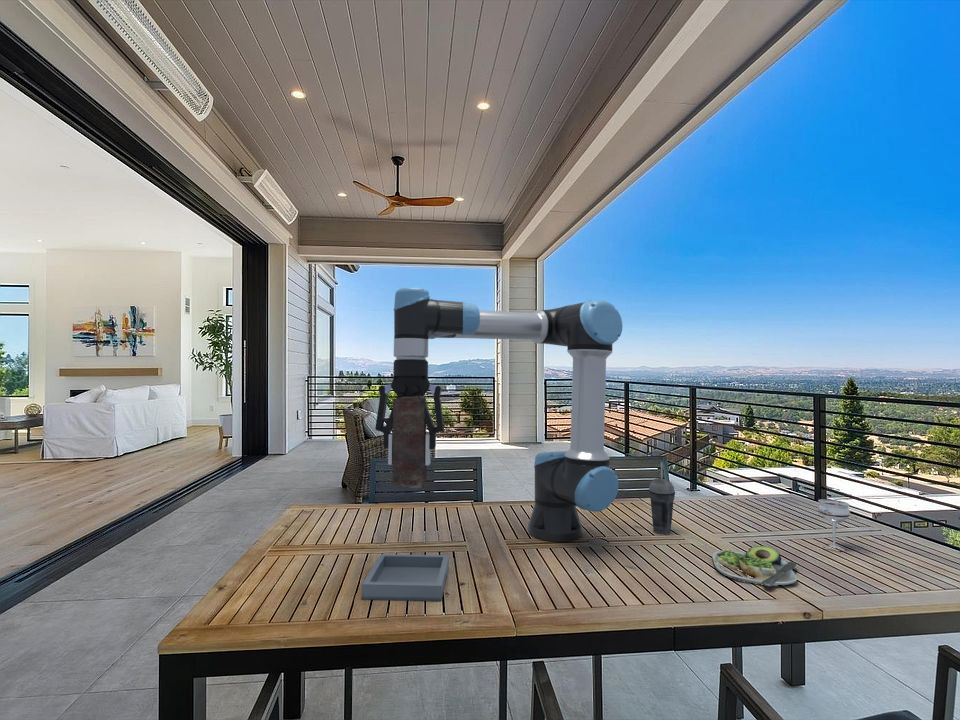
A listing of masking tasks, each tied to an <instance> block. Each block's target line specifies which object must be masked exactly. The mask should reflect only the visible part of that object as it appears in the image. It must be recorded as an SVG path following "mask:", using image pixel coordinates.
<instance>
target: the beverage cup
mask: <svg viewBox="0 0 960 720" xmlns="http://www.w3.org/2000/svg"><path fill="white" fill-rule="evenodd" d="M663 463H664V462H663V461H661V462H660V477H656V478H654V479H653V480H651V482H650V484H649V486H648V487H649V488H648V492H649V493H648V495H649V499H650V510H651V519H652V528H653V533H655V534H657V535H661V536H662V535H663V536H669V535H671V531H672V522H673V521H672V520H673V512H674V511H673V510H674V500H675V497H676V496H675V495H676V491H675V487H674V485H673V483H672V482H671V481H670V480H669V479H667V478H665V477H664V476H663V472H664V470H663V469H664V468H663V467H664V465H663Z"/></svg>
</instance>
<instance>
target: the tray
mask: <svg viewBox="0 0 960 720" xmlns="http://www.w3.org/2000/svg"><path fill="white" fill-rule="evenodd" d="M449 569H450V555H448V554H399V553H398V554H395V553H390V554H389V553H386V554H385V553H380V554H379V557H378V558H377V560H376V561H375V562H374V565H372V567H371V569H370V571H369V572H368V573H367V576H366V578H364V580H363V582H362V584H361V600H363V601H364V600H367V601H368V600H369V601H370V600H372V601H373V600H374V601H375V600H376V601H377V600H378V601H413V602H414V601H422V602H425V601H426V602H442V601H443V597H444V592H445V588H446V584H447V578H448V575H449ZM447 574H448V575H447Z"/></svg>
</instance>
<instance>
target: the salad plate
mask: <svg viewBox="0 0 960 720" xmlns="http://www.w3.org/2000/svg"><path fill="white" fill-rule="evenodd" d="M711 560H712V562H713V564H714V567H715V569H716V570H717V571H718V572H719V573H721V574H722V575H723V576H725V577H726V576H728V577H727V578H729V577H730V578H729V579H731V578H733V579H736V580H740V581H745V582H750V583H757V584H763V585H765V586H764V587H779V586H778V585H782V586H786V585H787V586H788V585H793V584H795V583H796V582H797V580H798V576H797V575H796V574H795V572H794V571H793V570H794V569H795V568H796V567H797V563H796V562H794V561H789V562H788V561H785V560H784V559H782V556H781V554H780V552H779V551H778V550H777V549H776V548H774V547H771V546H767V545H756V546H752V547H749V548H748V551H746V552H740V551H733V550H731V549H729V550H727V549H726V550H716V551H715V552H713V553H712V556H711ZM720 564H721V565H724V566H723V567H725V566H727V567H731V568H734V569H739V570H742V571H743V572H744V573H745V574H747V575H749V576H751V577H753V578H746V577H747V576H740V575H736V574H735V573H731V572H729V571H727V570H726V569H724V570H723V569H722V568H721V566H720ZM727 567H726V568H727ZM731 568H730V569H731ZM734 569H733V570H734ZM744 573H743V574H744ZM745 574H744V575H745ZM733 579H732V580H733ZM736 580H735V581H736ZM740 581H739V582H740ZM750 583H749V584H750ZM757 584H756V585H757Z"/></svg>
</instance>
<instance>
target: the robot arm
mask: <svg viewBox="0 0 960 720" xmlns="http://www.w3.org/2000/svg"><path fill="white" fill-rule="evenodd" d="M393 304H394V306H393V320H394V321H393V323H394V324H393V325H394V326H393V328H394V332H393V336H394V337H393V338H394V339H393V357H395V359H394V361H393V370H392V371H393V372H392V373H393V374H392V375H393V377H392V381H391V382H390V384H383V385H379V386H378V392H379V402H378V408H377V415H376V421H375V428H374V429H375V431H377V432H381V433H382V434H383V448H384V449H388V450H387V451H388V456H387V465H391V466H393V408H392V409H391V412H390V413H389V416H388V419H387V421H386V424H385V420H386V412H387V405H388V398H389V394H391V390H393V391H392V392H394V394H395V395H396V398H400V397H406V396H409V397H413V396H425V395H426V394H427V392H428V391H429V390H430V393H431V395H432V396H433V403H434V410H435V411H434V412H435V419H436V426H435V424H434V421H433V418H432V416H431V412H430V410H429V407H428V405H427V404H426V405H425V404H424V420H425V423H426V429H427V430H428V433H427V432H426V454H425V465H427V466H430V465H431V454H432V453H431V451H432V450H435V448H436V446H437V445H436V444H437V443H436V442H437V441H436V438H437V436H436V435H437V434H438V433H440V432H442V431H444V429H445V424H444V416H443V407H442V399H441V395H442V390H443V387H442V386H441V385H434V384H431V383H430V381H429V361H428V360H427V358H429V339H430V340H434V339H477V340H478V339H483V340H484V339H487V340H519V341H521V340H522V341H523V340H527V341H528V340H529V341H532V342H533V343H535V344H541V345H553V346H559V347H567V350H566V352H567V353H568V355H570V356H571V357H572V374H571V375H572V376H571V377H572V378H571V379H572V382H571V386H572V387H571V413H570V414H571V416H570V417H571V418H570V443H569V445H570V447H569V449H568V450H564V451H560V450H559V451H545V452H538V453H537V454H536V455H535V459H534V465H533V468H534V506H533V509H532V512H531V514H530V518H529V521H528V533H529V535H530V536H532V537H534V538H536V539H539V540H543V541H550V542H570V541H571V542H572V541H574V540H577V539H580V538H581V537H582V536H583V525H582V522H581V520H580V517H579V513H578V510H577V507H578V508H579V509H581V510H584V511H589V512H593V513H596V512H598V513H599V512H603V511H604V510H605V509H608V508H609V506H610V505H611V504H612V503H613V502H614V501H615V499H616V498H617V495H618V493H619V485H620V484H619V478H618V475H617V474H616V472H615V471H614V470H613V469H612V468H611V467H610V456H609V455H608V453H606V451H605V421H606V419H605V418H606V417H605V415H606V412H605V411H606V382H607V381H606V380H607V378H606V373H607V359H608V357H610V355H612V354H613V344H615V343H616V342H617V341H618V340H619V338H620V337H621V335H622V332H623V320H622V317H621V315H620V312H619V311H618V309H617V308H615V307H616V306H615V305H614V304H612V303H611V302H609V301H607V300H604V299H594V300H592V299H591V300H589V299H588V300H586V301H584V302H579V303H575V304H569V305H564V306H561V307H555V308H551V309H536V310H534V311H533V312H518V311H501V310H498V311H497V310H481V309H479V307H478V305H476V304H475V303H474V302H466V301H453V300H438V299H433V298H431V296H430V292H429V290H428V289H426V288H421V287H415V286H414V287H413V286H409V287H408V286H407V287H401V288H398V289H397V290H396V291H395V295H394V303H393ZM384 424H385V425H384Z"/></svg>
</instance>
